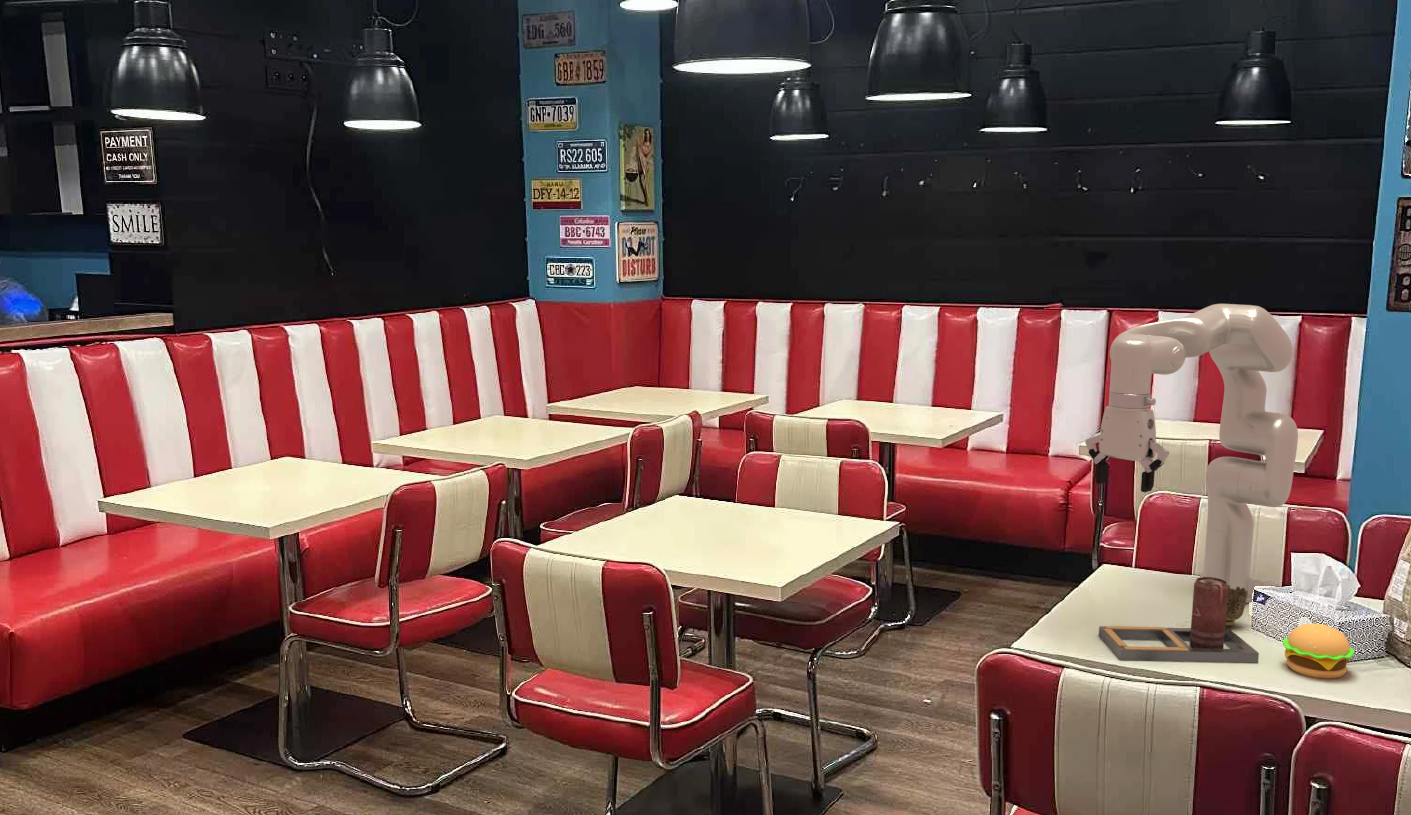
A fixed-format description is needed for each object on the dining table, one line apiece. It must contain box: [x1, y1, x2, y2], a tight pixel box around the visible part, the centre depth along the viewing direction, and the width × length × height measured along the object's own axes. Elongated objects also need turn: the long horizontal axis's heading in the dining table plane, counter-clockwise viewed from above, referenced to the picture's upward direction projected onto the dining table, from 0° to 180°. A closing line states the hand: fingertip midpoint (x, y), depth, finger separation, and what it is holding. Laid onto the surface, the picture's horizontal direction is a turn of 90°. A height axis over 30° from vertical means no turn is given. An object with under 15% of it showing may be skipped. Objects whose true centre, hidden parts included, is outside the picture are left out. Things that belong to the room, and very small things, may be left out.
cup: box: [1225, 585, 1248, 629], centre depth 253 cm, size 8×7×8 cm
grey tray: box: [1098, 625, 1260, 664], centre depth 239 cm, size 26×14×2 cm, turn 88°
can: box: [1189, 576, 1228, 649], centre depth 237 cm, size 6×6×14 cm
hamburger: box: [1282, 622, 1355, 680], centre depth 228 cm, size 12×12×9 cm
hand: (1123, 487), depth 241 cm, fingers open, 9 cm apart
